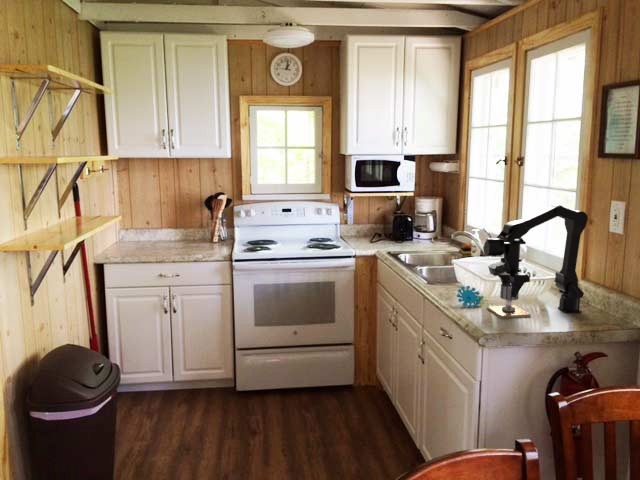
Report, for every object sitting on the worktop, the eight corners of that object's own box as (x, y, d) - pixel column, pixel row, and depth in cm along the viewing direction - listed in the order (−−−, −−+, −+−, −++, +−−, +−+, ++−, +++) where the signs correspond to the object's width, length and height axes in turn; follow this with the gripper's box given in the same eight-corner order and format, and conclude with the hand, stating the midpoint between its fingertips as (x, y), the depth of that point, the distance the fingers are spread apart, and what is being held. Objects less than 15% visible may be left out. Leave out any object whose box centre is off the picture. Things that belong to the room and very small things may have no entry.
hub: (513, 295, 217) (513, 282, 216) (521, 299, 211) (522, 287, 210) (497, 295, 216) (498, 283, 216) (505, 300, 210) (505, 287, 209)
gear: (458, 304, 220) (457, 283, 226) (453, 311, 225) (452, 290, 231) (485, 308, 220) (483, 286, 226) (480, 315, 225) (478, 293, 231)
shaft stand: (515, 307, 221) (516, 292, 220) (530, 316, 210) (531, 300, 208) (487, 308, 220) (487, 293, 219) (500, 318, 208) (501, 301, 207)
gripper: (481, 251, 219) (479, 289, 221) (502, 261, 200) (500, 302, 203) (507, 250, 220) (505, 288, 223) (531, 260, 202) (529, 301, 205)
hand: (509, 294), depth 213 cm, fingers closed on hub, 7 cm apart
